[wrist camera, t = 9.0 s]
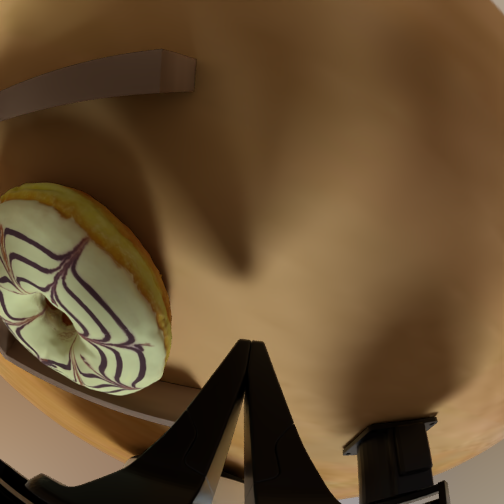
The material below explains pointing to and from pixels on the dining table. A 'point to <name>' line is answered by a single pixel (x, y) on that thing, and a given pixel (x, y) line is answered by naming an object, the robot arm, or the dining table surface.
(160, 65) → the u-shaped brown rail
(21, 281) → the decorated donut
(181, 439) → the robot arm
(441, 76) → the dining table surface
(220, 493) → the milk container
